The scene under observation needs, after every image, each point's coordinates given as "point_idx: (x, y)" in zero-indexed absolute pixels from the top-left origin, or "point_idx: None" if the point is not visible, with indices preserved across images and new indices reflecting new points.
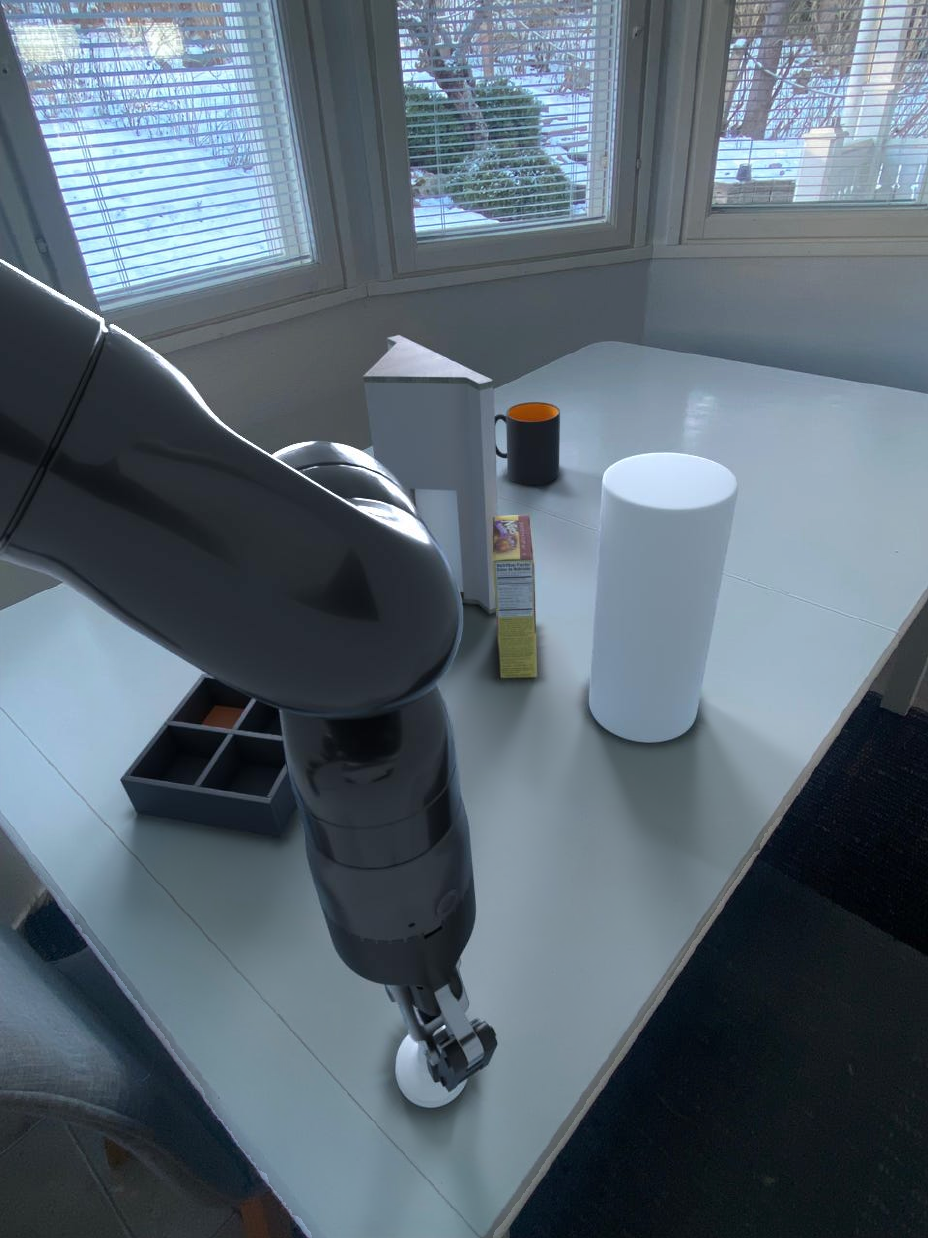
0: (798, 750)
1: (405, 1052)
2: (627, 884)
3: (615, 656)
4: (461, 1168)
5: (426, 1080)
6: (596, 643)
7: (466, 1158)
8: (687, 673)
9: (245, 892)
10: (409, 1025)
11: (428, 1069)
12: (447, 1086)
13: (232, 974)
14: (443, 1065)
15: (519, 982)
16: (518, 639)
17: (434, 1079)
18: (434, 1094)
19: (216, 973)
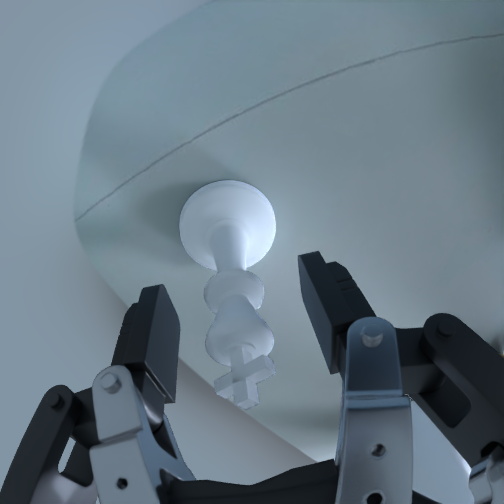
0: (320, 458)
1: (249, 205)
2: (306, 401)
3: (433, 460)
4: (116, 228)
5: (204, 223)
6: (449, 448)
7: (124, 235)
8: None
9: (497, 92)
10: (98, 493)
11: (156, 294)
12: (42, 408)
13: (435, 36)
14: (26, 483)
15: (274, 326)
16: None
17: (141, 295)
18: (186, 227)
19: (441, 24)
